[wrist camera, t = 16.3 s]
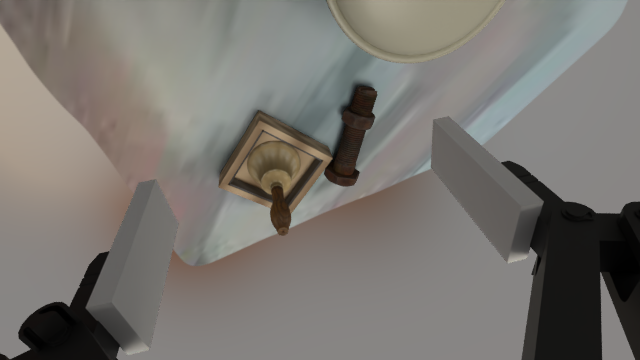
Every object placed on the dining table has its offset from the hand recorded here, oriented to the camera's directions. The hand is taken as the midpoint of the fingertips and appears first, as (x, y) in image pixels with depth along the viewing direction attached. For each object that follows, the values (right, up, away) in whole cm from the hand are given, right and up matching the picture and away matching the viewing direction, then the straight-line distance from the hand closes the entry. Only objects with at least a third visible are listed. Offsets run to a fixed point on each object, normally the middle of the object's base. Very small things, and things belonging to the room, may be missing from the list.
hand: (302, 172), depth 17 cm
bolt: (+6, +8, +39) cm, 40 cm away
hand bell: (-6, +2, +39) cm, 39 cm away
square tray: (-6, +3, +39) cm, 40 cm away
